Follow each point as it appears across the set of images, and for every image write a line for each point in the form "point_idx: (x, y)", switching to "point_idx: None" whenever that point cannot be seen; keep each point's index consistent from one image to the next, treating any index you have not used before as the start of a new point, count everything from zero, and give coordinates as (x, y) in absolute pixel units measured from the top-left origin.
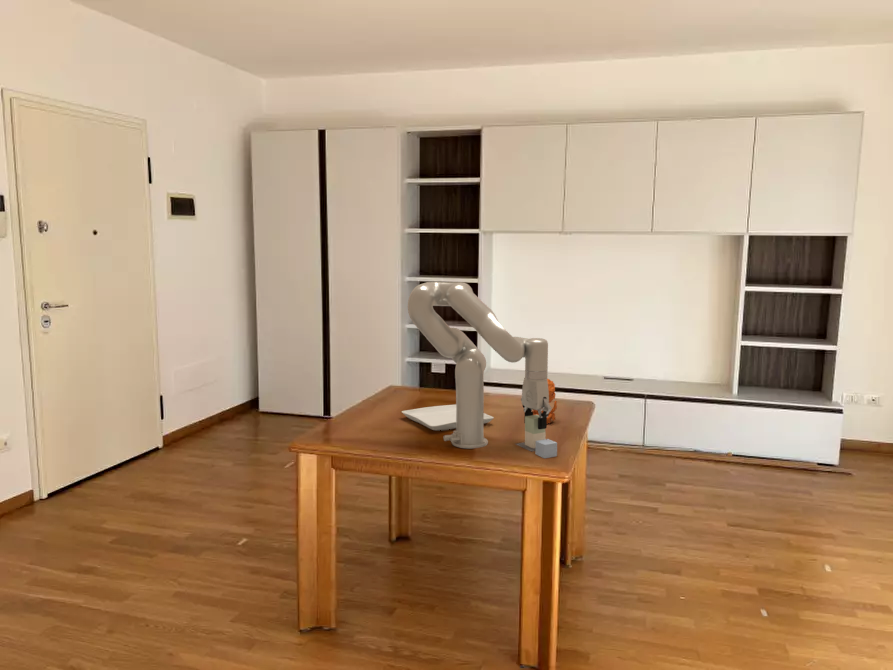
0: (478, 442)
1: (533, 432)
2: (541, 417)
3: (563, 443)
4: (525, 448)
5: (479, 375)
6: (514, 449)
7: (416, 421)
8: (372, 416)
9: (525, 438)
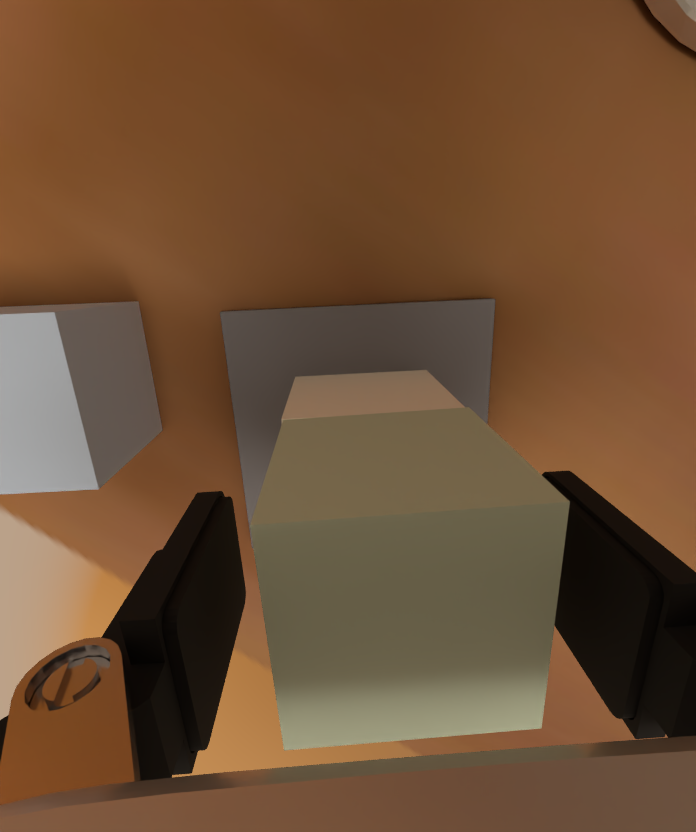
0: None
1: (282, 427)
2: (42, 666)
3: None
4: (325, 313)
5: None
6: (376, 218)
7: None
8: None
9: (430, 385)
